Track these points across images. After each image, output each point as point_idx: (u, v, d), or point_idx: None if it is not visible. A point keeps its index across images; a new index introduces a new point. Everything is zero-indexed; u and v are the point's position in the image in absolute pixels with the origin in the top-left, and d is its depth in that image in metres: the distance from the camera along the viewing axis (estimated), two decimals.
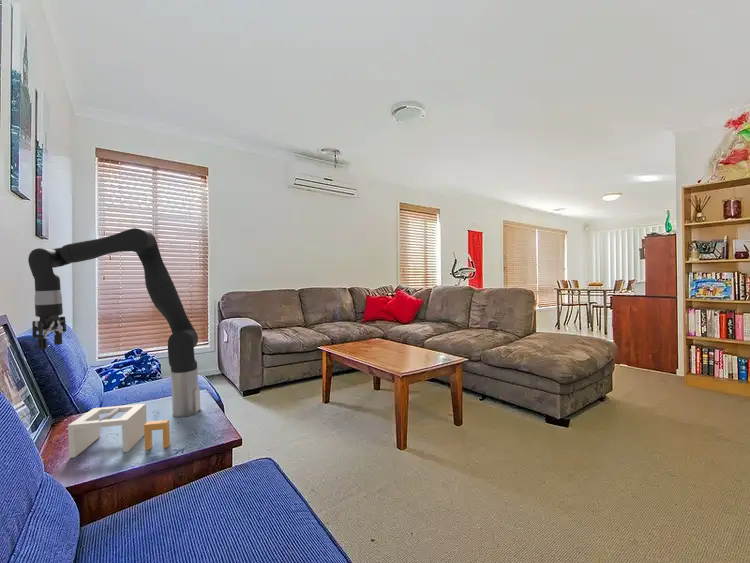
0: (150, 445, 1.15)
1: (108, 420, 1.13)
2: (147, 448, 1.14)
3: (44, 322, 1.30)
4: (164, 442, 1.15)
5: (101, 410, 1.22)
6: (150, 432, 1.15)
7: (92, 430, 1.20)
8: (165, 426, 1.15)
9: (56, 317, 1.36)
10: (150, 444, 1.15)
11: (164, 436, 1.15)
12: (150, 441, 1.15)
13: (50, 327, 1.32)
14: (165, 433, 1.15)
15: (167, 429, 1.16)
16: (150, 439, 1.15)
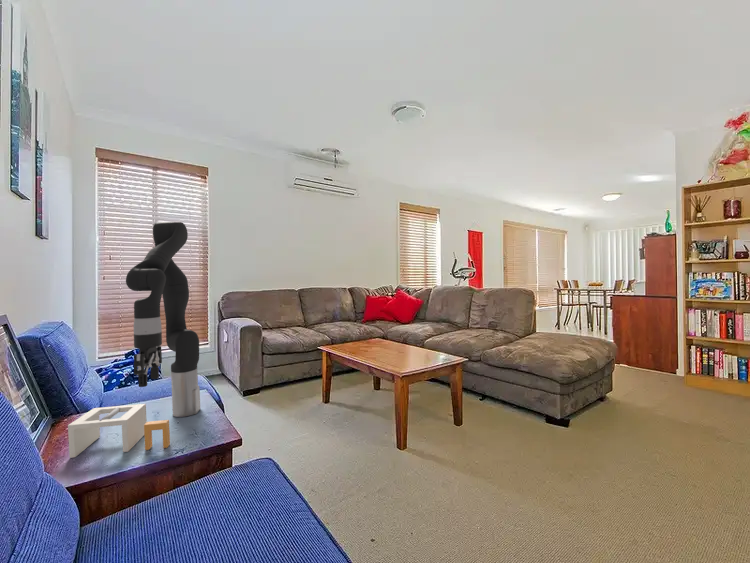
0: (150, 445, 1.15)
1: (108, 420, 1.13)
2: (147, 448, 1.14)
3: (145, 355, 1.11)
4: (164, 442, 1.15)
5: (101, 410, 1.22)
6: (150, 432, 1.15)
7: (92, 430, 1.20)
8: (165, 426, 1.15)
9: (154, 348, 1.17)
10: (150, 444, 1.15)
11: (164, 436, 1.15)
12: (150, 441, 1.15)
13: (150, 360, 1.13)
14: (165, 433, 1.15)
15: (167, 429, 1.16)
16: (150, 439, 1.15)
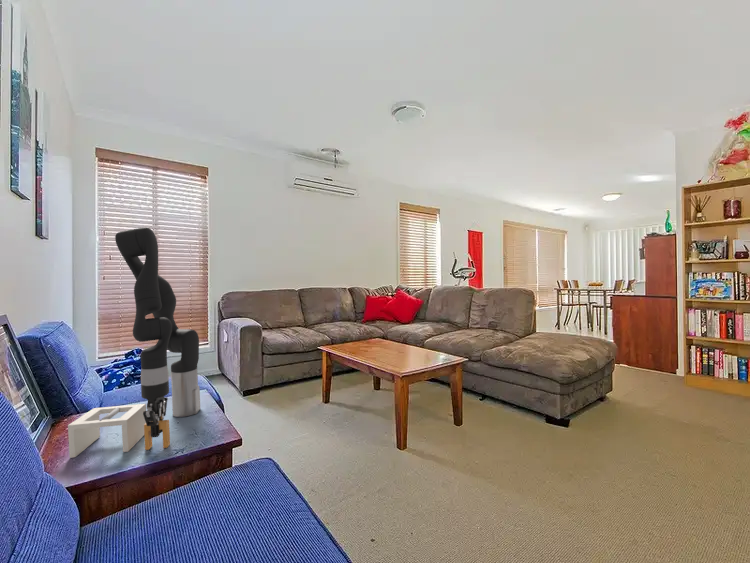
0: (150, 445, 1.15)
1: (108, 420, 1.13)
2: (147, 448, 1.14)
3: (153, 407, 1.12)
4: (164, 442, 1.15)
5: (101, 410, 1.22)
6: (150, 432, 1.15)
7: (92, 430, 1.20)
8: (165, 426, 1.15)
9: None
10: (150, 444, 1.15)
11: (164, 436, 1.15)
12: (150, 441, 1.15)
13: (160, 410, 1.14)
14: (165, 433, 1.15)
15: (167, 429, 1.16)
16: (150, 439, 1.15)
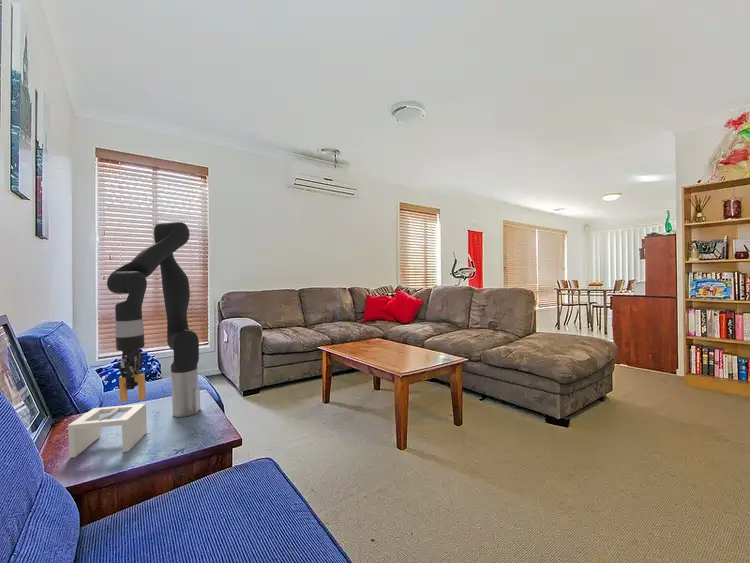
0: (125, 398, 1.16)
1: (108, 420, 1.13)
2: (122, 400, 1.15)
3: (128, 359, 1.13)
4: (139, 395, 1.16)
5: (101, 410, 1.22)
6: (125, 385, 1.16)
7: (92, 430, 1.20)
8: (140, 379, 1.16)
9: (137, 350, 1.18)
10: (125, 397, 1.16)
11: (139, 389, 1.16)
12: (125, 394, 1.16)
13: (135, 363, 1.15)
14: (140, 386, 1.16)
15: (142, 382, 1.17)
16: (125, 392, 1.16)
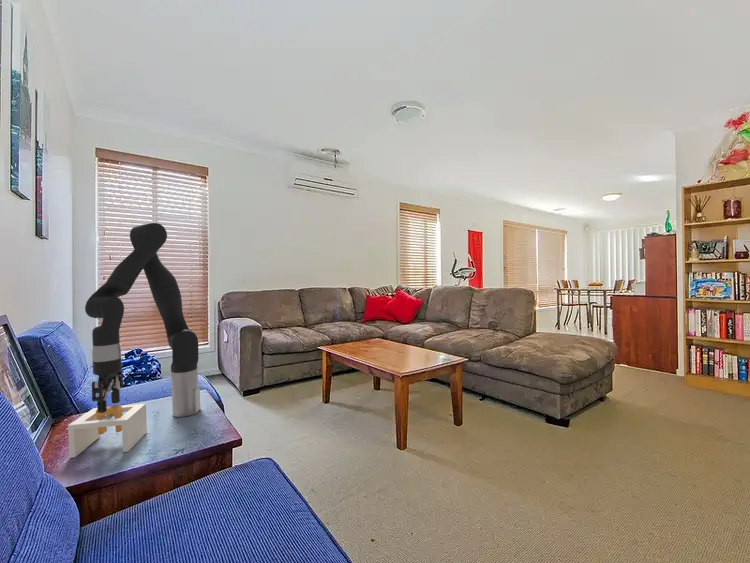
0: (104, 430, 1.18)
1: (108, 420, 1.13)
2: (100, 433, 1.17)
3: (104, 381, 1.14)
4: (116, 427, 1.17)
5: None
6: (103, 417, 1.18)
7: (92, 430, 1.20)
8: (116, 411, 1.17)
9: (114, 373, 1.20)
10: (104, 429, 1.18)
11: None
12: None
13: (110, 386, 1.16)
14: None
15: (119, 414, 1.18)
16: None
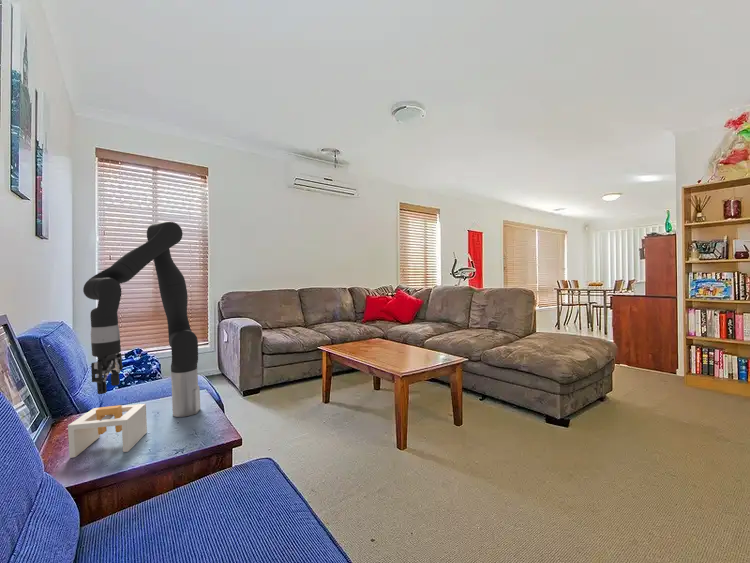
0: (103, 430, 1.18)
1: (108, 420, 1.13)
2: (100, 433, 1.17)
3: (103, 363, 1.14)
4: (116, 427, 1.17)
5: None
6: (103, 417, 1.18)
7: (92, 430, 1.20)
8: (116, 411, 1.17)
9: (113, 355, 1.19)
10: (103, 429, 1.18)
11: None
12: None
13: (109, 368, 1.15)
14: None
15: (119, 414, 1.18)
16: None
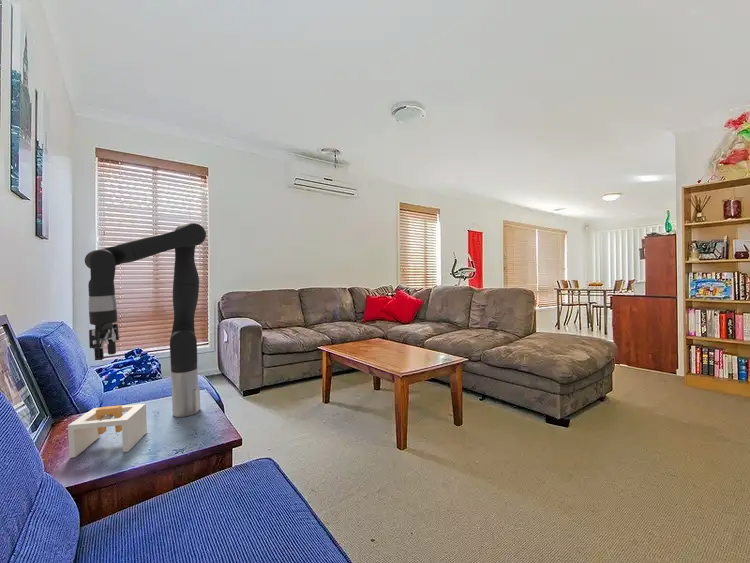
0: (103, 430, 1.18)
1: (108, 420, 1.13)
2: (100, 433, 1.17)
3: (100, 330, 1.18)
4: (116, 427, 1.17)
5: None
6: (103, 417, 1.18)
7: (92, 430, 1.20)
8: (116, 411, 1.17)
9: (110, 324, 1.24)
10: (103, 429, 1.18)
11: None
12: None
13: (106, 336, 1.20)
14: None
15: (119, 414, 1.18)
16: None
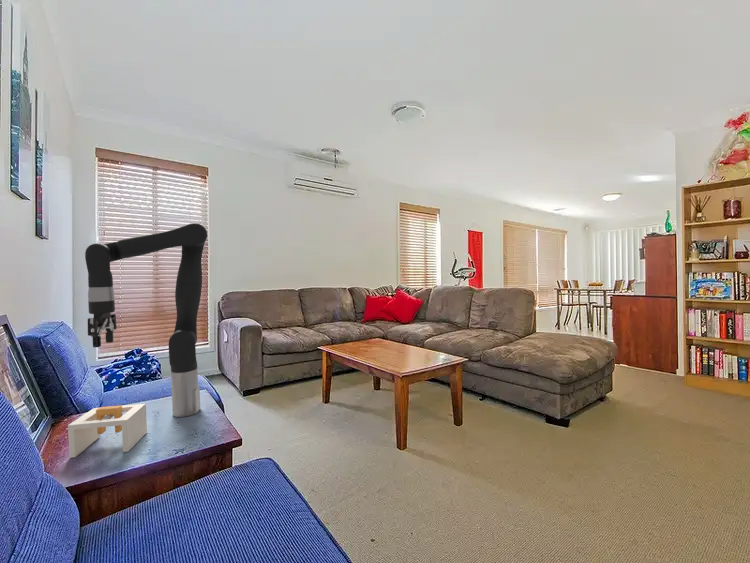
0: (103, 430, 1.18)
1: (108, 420, 1.13)
2: (99, 432, 1.17)
3: (98, 319, 1.26)
4: (116, 427, 1.17)
5: None
6: (103, 417, 1.18)
7: (92, 430, 1.20)
8: (116, 411, 1.17)
9: (108, 314, 1.32)
10: (103, 429, 1.18)
11: None
12: None
13: (104, 324, 1.28)
14: None
15: (119, 414, 1.18)
16: None
